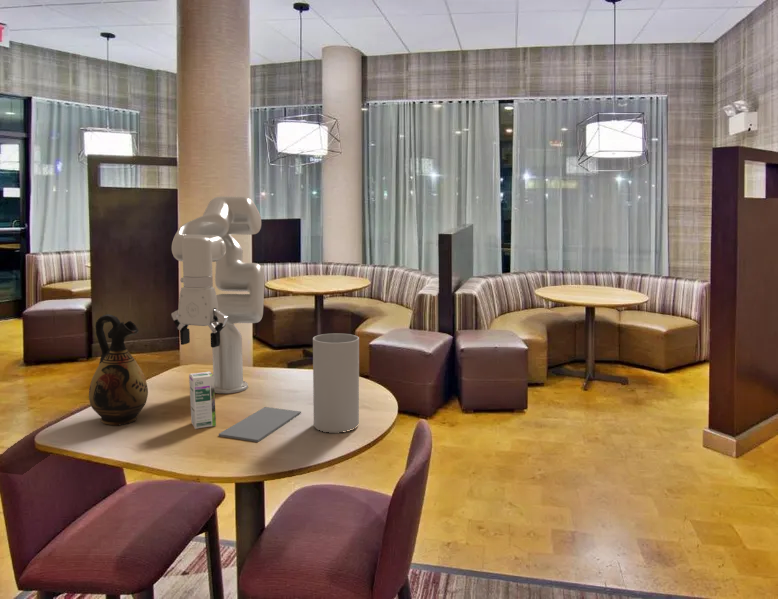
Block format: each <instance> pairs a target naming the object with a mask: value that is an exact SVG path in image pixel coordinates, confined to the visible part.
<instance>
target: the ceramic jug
mask: <svg viewBox="0 0 778 599" xmlns="http://www.w3.org/2000/svg"><path fill="white" fill-rule="evenodd" d="M107 323H111V325H112V327H111V329H110V330H109V331H108V332H107V337H106V333H105V331H104V324H107ZM94 326H95V327H94V328H95V334H96V338H97V341H98V344H99V347H100V350H101V356H100V359H99V364H98V366H97V368H96V369H95V372H94V373H93V376H92V378H91V381H90V385H89V388H88V389H89V390H88V400H89V404H90V406H91V409H92V410H93V411H94V412H95V413H96V414H97V415H99V417H100V421H101V423H103V424H104V425H108V426H115V427H119V426H122V425H129V424H132V423H135V422H136V420H137V419H138V415H139V413H140V412H141V411H142V410H143V408H144V407H145V405H146V403H147V400H148V395H149V388H148V383H147V379H146V375H145V374H144V371H143V370H142V368H141V366H140V365H139V363H138V362H137V360H136V359H135V357H133V355H132V354H131V353H130V351H129V350H128V349H127V347H126V345H125V339H127V338H129V337H131V336H134V335H136V334H138V333H139V332H140V330H139V328H138V327H137V326H136V324H135V323H134V322H133V321H131V320H129V321H126V322H125V323H124V321H122V322H121V321H120V319H119V318H118V317H117V316H115V315H113V314H107V313H106V314H104V315H102V316H100V317H98V319H97V320H96V322H95V325H94ZM106 338H108V339H111V344H110V346H109V344H108V342H107V339H106Z"/></svg>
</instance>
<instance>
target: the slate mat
mask: <svg viewBox="0 0 778 599" xmlns="http://www.w3.org/2000/svg"><path fill="white" fill-rule="evenodd" d="M300 413H301V414H302V411H301V410H299V411H298V410H293V409H292V410H291V409H283V408H275V407H269V406H268V407H267V406H265V407H262V408H261V409H259V410H258V411H256V412H254V413H252V414H251V415H249V416H247V417H245V418H243V419H241V421H239V422H237V423H235V424H233V425H232V426H230V427H228V428H227V429H225V430H223V431H221V432H219V433H218V437H223V438H229V439H234V440H235V439H236V440H242V441H248V442H255V443H259V442H260V441H262V440H264V439H265V438H267V437H268V436H270V435H271V434H273V433H274V432H275V431H277V430H279V429H280V428H282V427H283V426H285V425H286V424H288V423H289V422H290V420H291V421H292V420H294V419H295V418H296V416H297V415H298V416H299V414H300ZM301 414H300V415H301ZM298 416H297V417H298ZM294 417H295V418H294ZM293 418H294V419H293Z"/></svg>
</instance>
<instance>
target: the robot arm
mask: <svg viewBox="0 0 778 599" xmlns="http://www.w3.org/2000/svg"><path fill="white" fill-rule="evenodd" d="M261 229H262V217H261V214H260V212H259V210H258V207H257V206H256V204H255V202H254V201H253V199H251V198H249V197H247V196H216V197H214V198H212V199H210V201H209V202H208V203H207V205H206V208H205V210H204V212H203V214H202V215H201V216H199V217H196V218H195V219H192V220H190V221H188V222H185V223H184V224H182V225H180V226H179V228H178V229H177V231H176V233H175V235H174V236H173V240H172V242H171V253H172V255H173V258H174V259H175V260H177V261H178V262H182V272H183V275H182V276H183V277H181V278H180V283H183V287H180V290H179V298H178V307H177V308H178V309H177V310H175V311H173V312H171V318H172V320H173V323H174V324H175V326H176V328H177V330H179V340H180V341H179V342H180V345H187V344H190V342H191V341H190V340H191V339H190V338H191V337H190V336H191V335H190V328H188V327H189V326H198V327H208V328H209V329H210V331H211V333H210V348H212V374H213V376H214V389H215V394H234V393H239V392H244V391H246V390H247V389H248V388H249V383H248V382H247V381H244V372H243V370H244V369H243V365H244V362H243V337H242V334H241V331H240V330H239V328H238V327H237V326H236V324H257V323H259V322H261V320H262V318H263V315H264V302H265V300H264V299H265V272H264V268H263V267H262V266H261V265H260V264H259V263H256V262H243V259H244V258H243V257H244V255H243V254H244V250H243V248H242V246H241V245H240V243H239V242H238V241H237V240H236V239H235V237H233V235H243V236H245V235H256V234H258V233H259V232H260V230H261ZM214 262H215V274H214V280H213V263H214ZM213 281H214V282H213ZM213 283H215V287H216V288H217V289H218V290H219V291H222V292H247V293H220V294H217V291H216V288H215V287H214V286H213V285H214V284H213Z"/></svg>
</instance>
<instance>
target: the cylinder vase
mask: <svg viewBox="0 0 778 599" xmlns="http://www.w3.org/2000/svg"><path fill="white" fill-rule="evenodd" d="M312 380H313V381H312V384H313V385H312V386H313V387H312V388H313V390H312V392H313V393H312V394H313V395H312V396H313V397H312V398H313V405H312V406H313V426H314V428H315V429H316V430H318V431H319V430H320V431H319V432H322V431H323V433H326V432H329V433H328V434H339V433H338V432H343V431H347V430H350V429H353V428H355V427H356V426H357V425H358V424H360V337H359V336H357V335H354V334H351V333H338V332H337V333H334V332H333V333H323V334H318V335H315V336H313V337H312ZM358 426H359V425H358ZM358 426H357V427H358ZM355 429H356V428H355Z"/></svg>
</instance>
